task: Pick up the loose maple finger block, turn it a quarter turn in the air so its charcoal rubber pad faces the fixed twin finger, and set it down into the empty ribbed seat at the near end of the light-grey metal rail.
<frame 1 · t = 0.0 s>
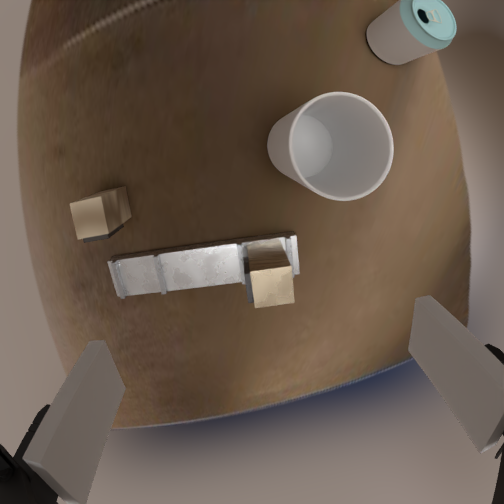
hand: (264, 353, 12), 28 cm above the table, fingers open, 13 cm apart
cup: (300, 145, 37), on the table
can: (387, 42, 32), on the table
finger block: (118, 221, 38), on the table
rail: (202, 262, 40), on the table
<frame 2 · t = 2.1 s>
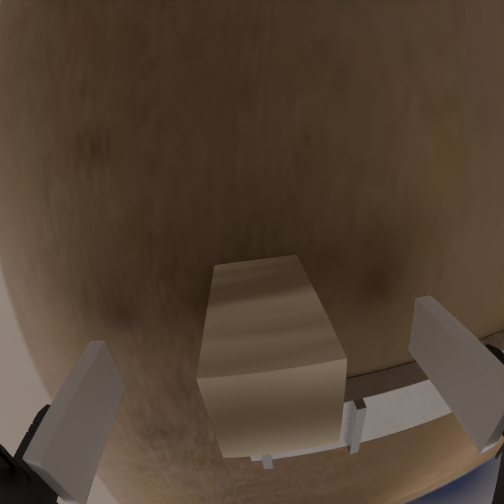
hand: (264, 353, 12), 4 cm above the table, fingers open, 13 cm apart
finger block: (265, 333, 17), on the table
rail: (412, 386, 19), on the table
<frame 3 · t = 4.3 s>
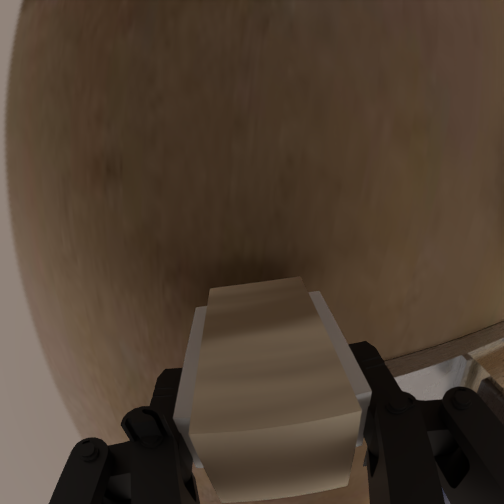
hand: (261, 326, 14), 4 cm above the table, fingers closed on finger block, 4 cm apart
finger block: (265, 359, 15), point 4 cm above the table, touching gripper
rail: (394, 381, 21), on the table
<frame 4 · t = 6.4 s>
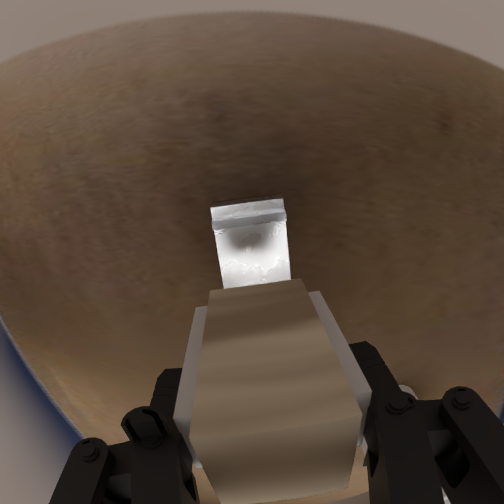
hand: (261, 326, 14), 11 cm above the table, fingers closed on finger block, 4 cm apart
finger block: (265, 361, 15), point 11 cm above the table, touching gripper
rail: (263, 335, 27), on the table
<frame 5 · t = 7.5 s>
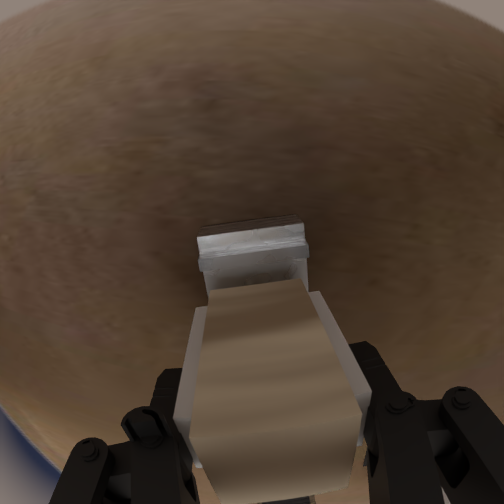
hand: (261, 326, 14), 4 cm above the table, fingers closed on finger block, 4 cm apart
finger block: (265, 361, 15), point 4 cm above the table, touching gripper
rail: (271, 391, 20), on the table
when the fingers open (3 cm above the table, at t = 8.4 s): finger block stays where it is, resting on rail.
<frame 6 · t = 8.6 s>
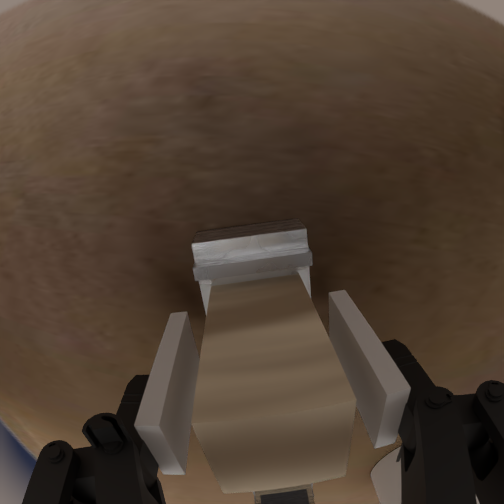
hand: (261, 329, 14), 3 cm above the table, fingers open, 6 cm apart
cup: (406, 459, 24), on the table
finger block: (265, 355, 16), point 2 cm above the table, touching rail
rail: (271, 402, 19), on the table
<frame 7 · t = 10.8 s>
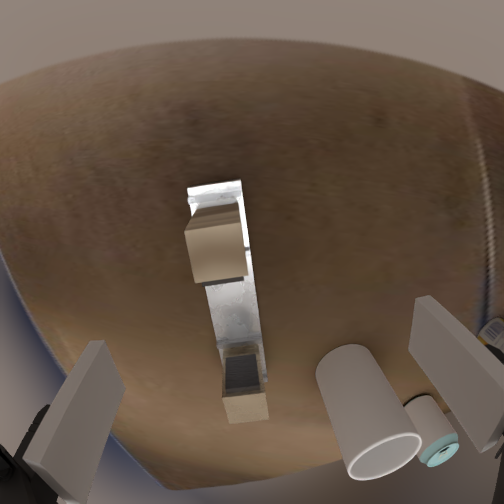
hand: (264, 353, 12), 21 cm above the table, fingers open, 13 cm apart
cup: (344, 367, 40), on the table
can: (414, 406, 45), on the table
finger block: (224, 248, 31), point 2 cm above the table, touching rail
canned food: (488, 336, 41), on the table
rail: (232, 291, 35), on the table
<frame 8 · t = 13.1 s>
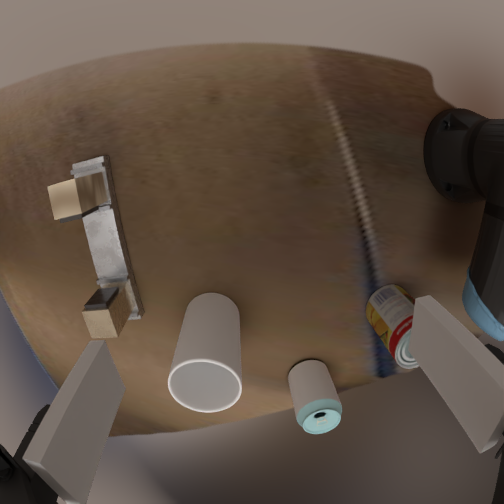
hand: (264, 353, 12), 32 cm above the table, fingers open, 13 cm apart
cup: (212, 316, 48), on the table
can: (307, 372, 52), on the table
finger block: (95, 205, 39), point 2 cm above the table, touching rail
canned food: (386, 305, 49), on the table
rail: (109, 240, 43), on the table
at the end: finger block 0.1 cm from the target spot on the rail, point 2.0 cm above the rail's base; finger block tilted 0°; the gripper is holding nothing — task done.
